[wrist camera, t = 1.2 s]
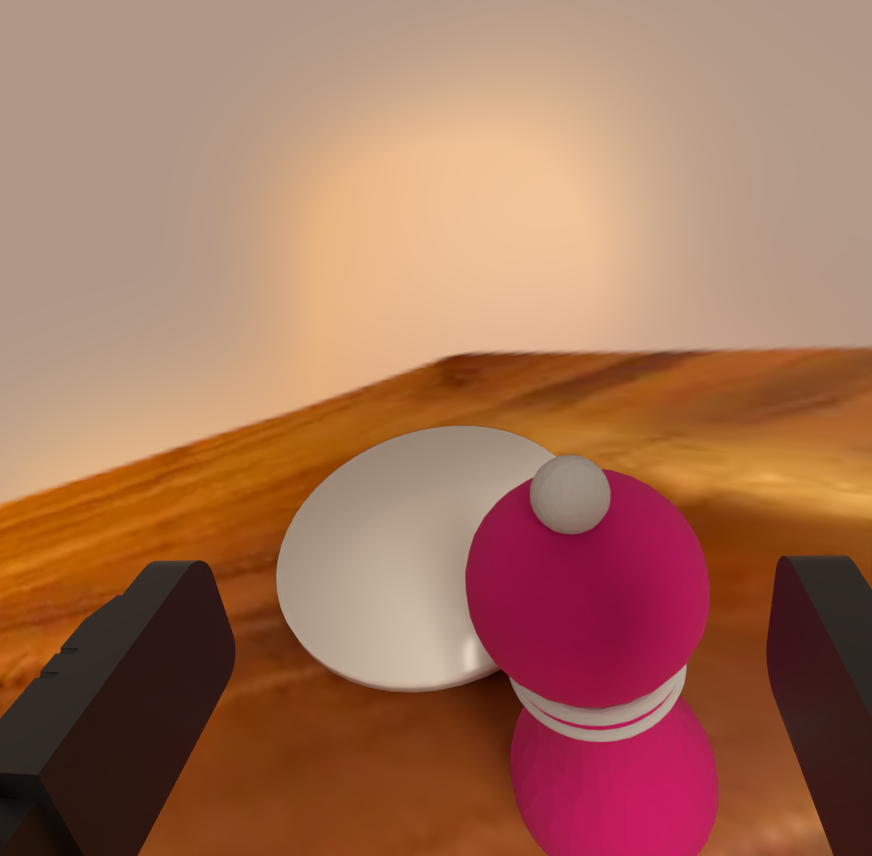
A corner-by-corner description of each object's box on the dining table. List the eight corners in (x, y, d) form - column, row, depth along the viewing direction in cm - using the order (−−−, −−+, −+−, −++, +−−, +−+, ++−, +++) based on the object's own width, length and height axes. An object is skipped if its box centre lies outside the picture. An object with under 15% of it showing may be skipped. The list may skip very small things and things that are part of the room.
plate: (561, 423, 45) (558, 402, 44) (629, 670, 32) (627, 649, 30) (305, 473, 48) (296, 455, 46) (265, 725, 34) (251, 708, 33)
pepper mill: (608, 693, 31) (560, 332, 18) (753, 819, 26) (827, 445, 13) (492, 809, 29) (344, 484, 16) (629, 974, 24) (574, 693, 11)
